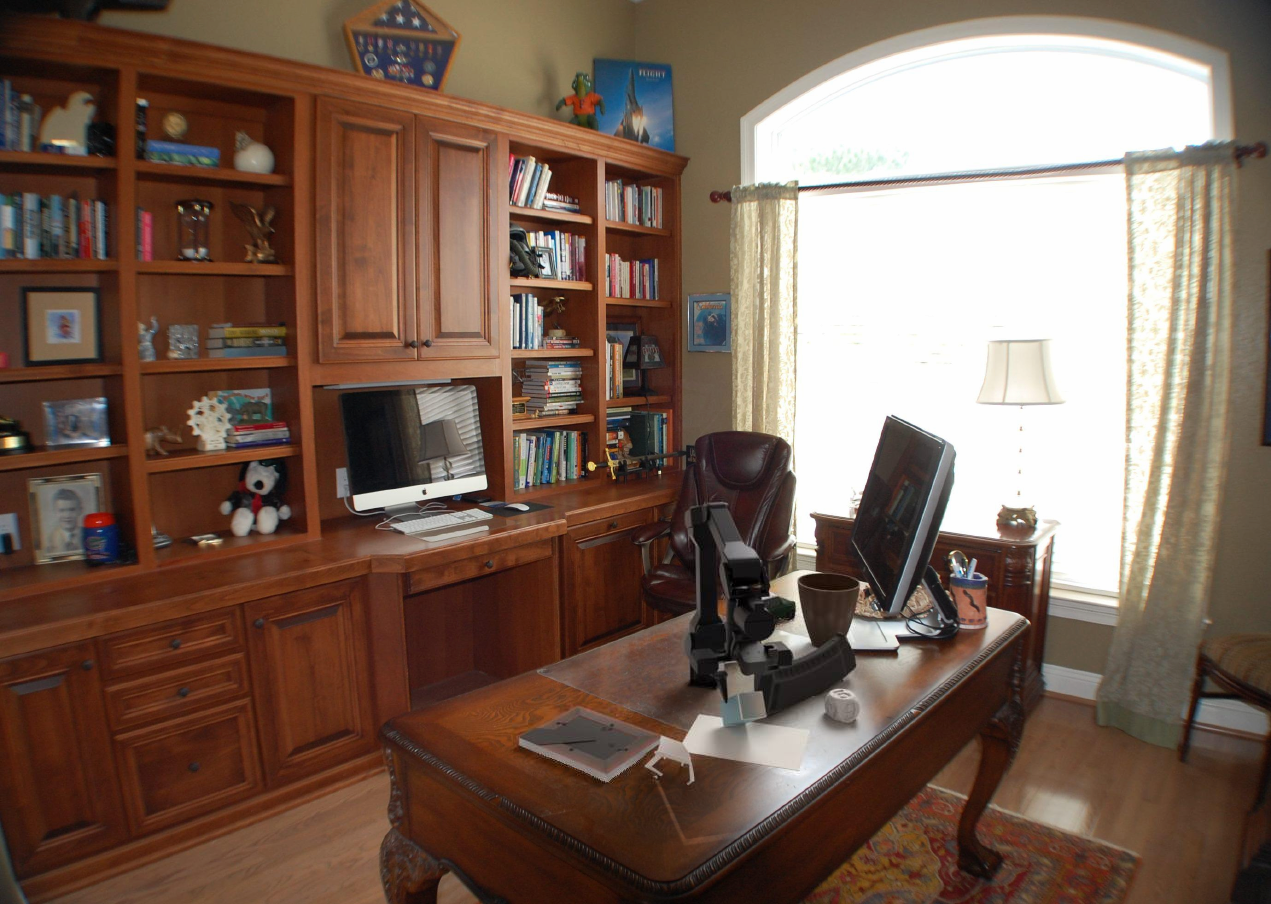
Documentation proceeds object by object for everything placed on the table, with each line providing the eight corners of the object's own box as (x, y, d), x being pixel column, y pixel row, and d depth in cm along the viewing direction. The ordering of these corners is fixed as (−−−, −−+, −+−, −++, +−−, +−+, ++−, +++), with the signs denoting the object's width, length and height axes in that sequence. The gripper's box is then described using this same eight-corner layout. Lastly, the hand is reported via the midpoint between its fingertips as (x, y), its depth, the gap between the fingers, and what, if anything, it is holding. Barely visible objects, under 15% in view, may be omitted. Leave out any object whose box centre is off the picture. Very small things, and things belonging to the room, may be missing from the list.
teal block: (723, 726, 156) (742, 719, 145) (719, 701, 158) (738, 693, 147) (745, 723, 157) (766, 716, 146) (741, 699, 159) (762, 690, 148)
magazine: (758, 682, 156) (847, 605, 173) (746, 677, 159) (834, 602, 176) (774, 753, 162) (858, 671, 179) (762, 746, 164) (846, 667, 181)
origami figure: (633, 772, 142) (632, 746, 141) (667, 755, 147) (667, 730, 146) (681, 801, 133) (681, 773, 132) (716, 782, 138) (716, 755, 138)
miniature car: (799, 618, 217) (799, 589, 216) (751, 633, 207) (751, 603, 206) (775, 609, 225) (775, 581, 223) (727, 623, 214) (727, 594, 213)
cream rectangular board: (677, 753, 148) (677, 750, 148) (699, 717, 162) (698, 714, 161) (798, 773, 140) (799, 770, 140) (810, 733, 154) (810, 730, 154)
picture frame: (519, 748, 152) (607, 786, 139) (518, 736, 151) (606, 772, 138) (578, 715, 165) (663, 747, 151) (578, 704, 164) (663, 734, 151)
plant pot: (811, 629, 209) (812, 569, 206) (867, 640, 200) (869, 578, 198) (786, 647, 197) (786, 584, 194) (845, 661, 188) (846, 594, 186)
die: (844, 710, 164) (845, 686, 163) (859, 720, 159) (860, 696, 158) (823, 714, 162) (824, 691, 161) (838, 725, 157) (838, 701, 157)
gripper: (706, 642, 140) (706, 726, 142) (806, 632, 144) (805, 714, 146) (688, 620, 151) (689, 699, 153) (782, 611, 155) (781, 688, 157)
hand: (741, 700), depth 152 cm, fingers open, 6 cm apart
